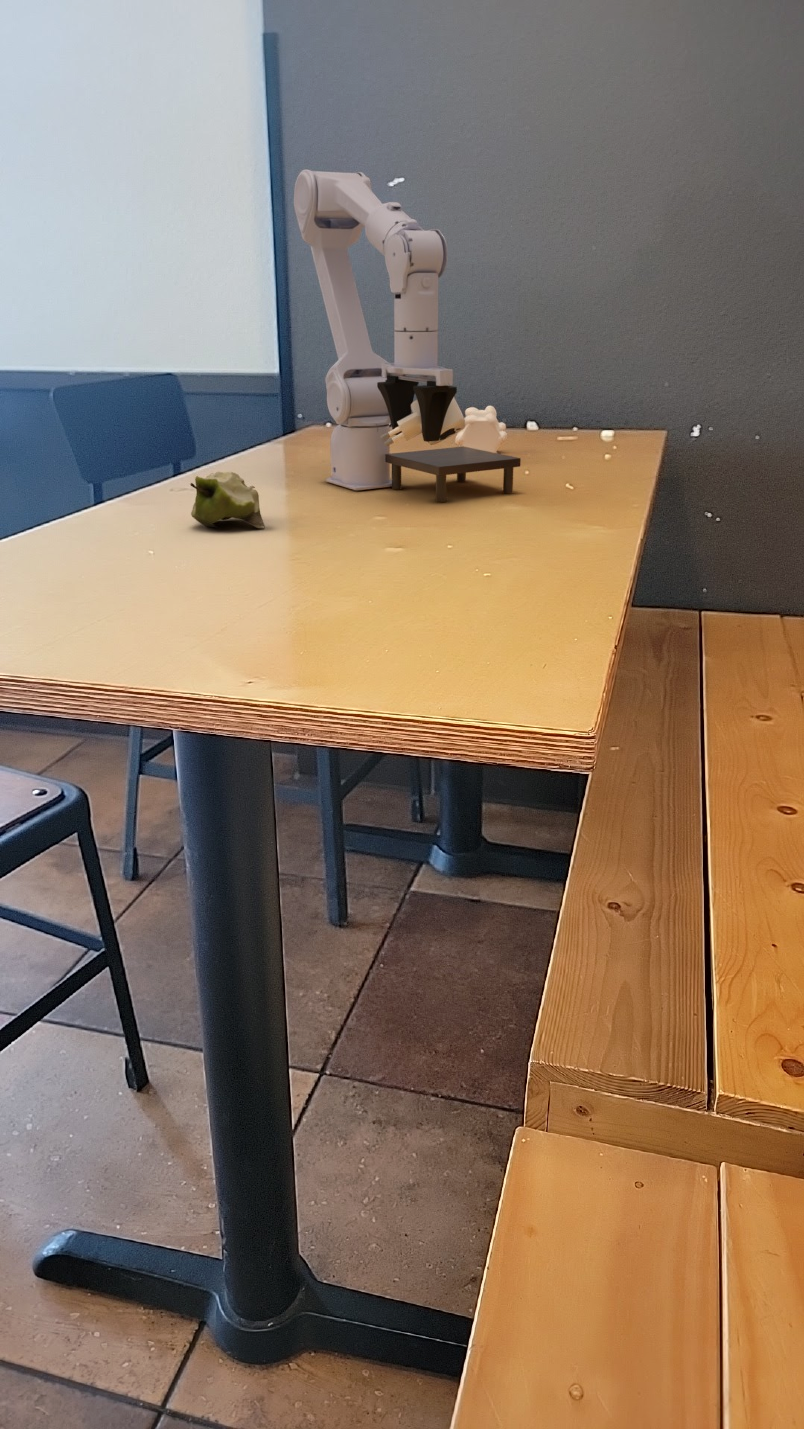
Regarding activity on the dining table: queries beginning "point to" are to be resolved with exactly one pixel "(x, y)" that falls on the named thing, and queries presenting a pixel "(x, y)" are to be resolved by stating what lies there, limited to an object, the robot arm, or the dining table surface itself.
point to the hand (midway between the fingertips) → (415, 437)
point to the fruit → (225, 500)
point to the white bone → (482, 430)
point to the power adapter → (413, 426)
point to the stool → (452, 465)
